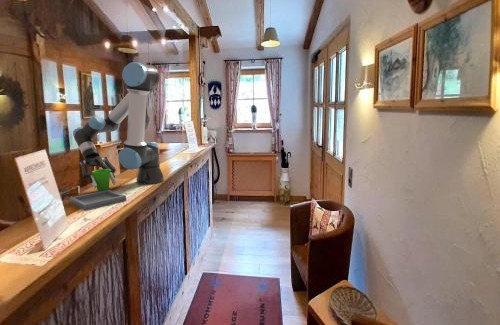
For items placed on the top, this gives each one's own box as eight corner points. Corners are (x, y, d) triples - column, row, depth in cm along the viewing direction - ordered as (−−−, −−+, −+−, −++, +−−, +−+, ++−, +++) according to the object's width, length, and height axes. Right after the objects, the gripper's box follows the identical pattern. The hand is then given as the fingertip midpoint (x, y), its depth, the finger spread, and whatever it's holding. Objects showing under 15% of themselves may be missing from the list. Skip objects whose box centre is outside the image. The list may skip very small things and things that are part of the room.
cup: (105, 193, 162) (103, 172, 160) (90, 193, 164) (87, 172, 162) (116, 189, 170) (114, 169, 169) (101, 189, 172) (99, 168, 170)
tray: (109, 194, 160) (108, 189, 160) (126, 200, 148) (125, 195, 148) (70, 203, 147) (69, 197, 147) (85, 210, 135) (84, 205, 135)
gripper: (108, 154, 182) (124, 185, 174) (66, 159, 167) (81, 193, 159) (111, 145, 178) (127, 176, 170) (68, 149, 162) (84, 185, 154)
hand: (105, 185), depth 164 cm, fingers closed on cup, 9 cm apart
